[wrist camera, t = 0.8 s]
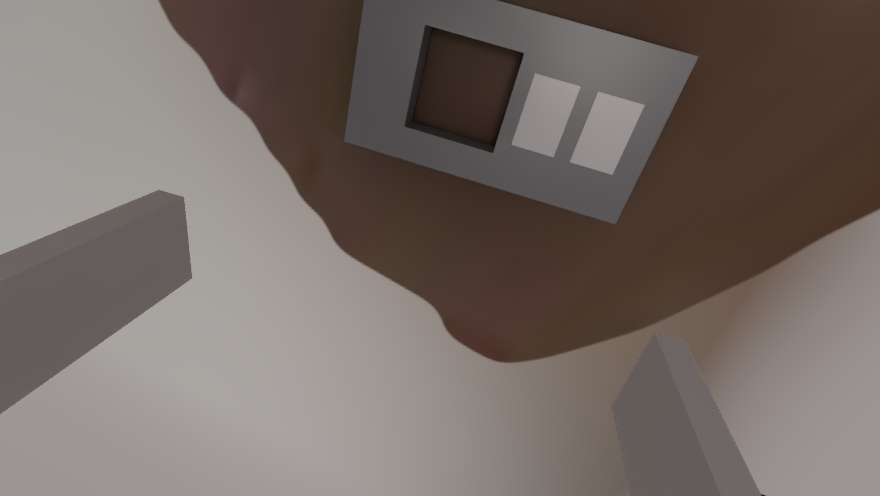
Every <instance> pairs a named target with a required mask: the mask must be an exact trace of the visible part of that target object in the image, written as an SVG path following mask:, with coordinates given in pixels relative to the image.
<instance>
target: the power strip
mask: <svg viewBox="0 0 880 496" xmlns="http://www.w3.org/2000/svg"><path fill="white" fill-rule="evenodd" d="M432 27H435V28H438V29H442V30H445V31H449V32H452V33H456V34H459V35H463V36H466V37H470V38H473V39H477V40H480V41H484V42H487V43H491V44H494V45H498V46H501V47H505V48H508V49H512V50H515V51H519V52H522V53H524V56H523V59H522V62H521V65H520V69H519V72H518V75H517V78H516V81H515V85H514V88H513V91H512V94H511V97H510V100H509V104H508V107H507V110H506V113H505V116H504V120H503V123H502V126H501V129H500V132H499V135H498V139H497V142H496V145H495V146H493V145H490V144H486V143H483V142H480V141H476V140H473V139H470V138H466V137H463V136H460V135H456V134H453V133H450V132H446V131H443V130H440V129H436V128H433V127H430V126H426V125H423V124H420V123H416V122H413V116H414V111H415V107H416V102H417V97H418V93H419V88H420V83H421V79H422V74H423V69H424V65H425V60H426V55H427V50H428V46H429V41H430V36H431V32H432ZM697 59H698V56H695V55H691V54H688V53H684V52H681V51H677V50H673V49H670V48H666V47H663V46H659V45H655V44H652V43H648V42H645V41H641V40H638V39H634V38H630V37H627V36H623V35H620V34H616V33H612V32H609V31H605V30H602V29H598V28H595V27H591V26H587V25H584V24H580V23H577V22H573V21H569V20H566V19H562V18H559V17H555V16H552V15H548V14H544V13H541V12H537V11H534V10H530V9H526V8H523V7H519V6H516V5H512V4H509V3H505V2H501V1H498V0H364V3H363V10H362V17H361V24H360V31H359V38H358V45H357V52H356V59H355V66H354V74H353V81H352V88H351V95H350V102H349V109H348V116H347V123H346V130H345V138H344V142H347V143H350V144H354V145H357V146H360V147H363V148H367V149H370V150H373V151H377V152H380V153H383V154H386V155H390V156H393V157H396V158H399V159H403V160H406V161H409V162H413V163H416V164H419V165H422V166H426V167H429V168H432V169H436V170H439V171H442V172H445V173H449V174H452V175H455V176H458V177H462V178H465V179H468V180H472V181H475V182H478V183H481V184H485V185H488V186H491V187H494V188H498V189H501V190H504V191H508V192H511V193H514V194H517V195H521V196H524V197H527V198H530V199H534V200H537V201H540V202H544V203H547V204H550V205H553V206H557V207H560V208H563V209H566V210H570V211H573V212H576V213H580V214H583V215H586V216H589V217H593V218H596V219H599V220H603V221H606V222H609V223H612V224H616V222H617V220H618V218H619V216H620V214H621V212H622V210H623V208H624V206H625V204H626V202H627V200H628V198H629V196H630V194H631V192H632V190H633V188H634V186H635V184H636V182H637V180H638V178H639V176H640V174H641V172H642V170H643V168H644V166H645V164H646V162H647V160H648V158H649V156H650V154H651V152H652V150H653V147H654V145H655V143H656V141H657V139H658V137H659V135H660V133H661V131H662V129H663V127H664V125H665V123H666V121H667V119H668V117H669V115H670V113H671V111H672V109H673V107H674V105H675V103H676V101H677V99H678V97H679V95H680V93H681V91H682V89H683V87H684V85H685V83H686V81H687V79H688V77H689V75H690V73H691V71H692V69H693V67H694V65H695V63H696V61H697Z"/></svg>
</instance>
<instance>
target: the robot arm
mask: <svg viewBox="0 0 880 496" xmlns="http://www.w3.org/2000/svg"><path fill="white" fill-rule="evenodd" d="M190 279H192V273H191V263H190V254H189V244H188V233H187V224H186V215H185V204H184V197H181V196H178V195H174V194H171V193H167V192H164V191H160V190H158V191H156V192H153V193H150V194H148V195H146V196H143V197H141V198H138V199H136V200H133V201H131V202H129V203H126V204H124V205H121V206H119V207H116V208H114V209H112V210H109V211H107V212H105V213H102V214H99V215H97V216H95V217H92V218H90V219H87V220H85V221H82V222H80V223H77V224H75V225H73V226H70V227H68V228H65V229H63V230H61V231H58V232H56V233H53V234H51V235H48V236H46V237H44V238H41V239H39V240H36V241H34V242H31V243H29V244H27V245H24V246H22V247H19V248H17V249H14V250H12V251H9V252H7V253H5V254H2V255H0V414H1V413H2V412H4V411H5V410H7V409H8V408H9V407H10V406H12V405H14V404H15V403H16V402H18V401H19V400H21V399H22V398H24V397H25V396H26V395H28V394H29V393H31V392H32V391H33V390H35V389H36V388H38V387H39V386H40V385H42V384H43V383H45V382H46V381H48V380H49V379H50V378H52V377H53V376H55V375H56V374H57V373H59V372H60V371H62V370H63V369H64V368H66V367H67V366H69V365H70V364H72V363H73V362H74V361H76V360H77V359H79V358H80V357H81V356H83V355H84V354H85V353H87V352H88V351H90V350H91V349H93V348H94V347H95V346H97V345H98V344H100V343H101V342H103V341H104V340H105V339H107V338H108V337H109V336H111V335H113V334H114V333H115V332H117V331H118V330H120V329H121V328H122V327H124V326H125V325H127V324H128V323H129V322H131V321H132V320H134V319H135V318H137V317H138V316H139V315H141V314H142V313H144V312H145V311H146V310H148V309H149V308H151V307H152V306H153V305H155V304H156V303H158V302H159V301H160V300H162V299H163V298H165V297H166V296H168V295H169V294H170V293H172V292H173V291H175V290H176V289H177V288H179V287H180V286H182V285H183V284H185V283H186V282H187V281H189V280H190ZM611 406H612V411H613V415H614V420H615V425H616V430H617V434H618V439H619V444H620V449H621V454H622V458H623V463H624V468H625V472H626V477H627V483H628V487H629V492H630V496H765V495H762V494H760V492H759V490H758V488H757V486H756V484H755V482H754V480H753V478H752V476H751V474H750V472H749V469H748V467H747V466H746V463H745V461H744V459H743V457H742V455H741V453H740V451H739V449H738V447H737V445H736V443H735V441H734V439H733V437H732V435H731V433H730V431H729V429H728V427H727V425H726V423H725V421H724V419H723V417H722V415H721V413H720V411H719V409H718V407H717V405H716V403H715V401H714V399H713V397H712V395H711V393H710V391H709V389H708V387H707V385H706V382H705V381H704V379H703V377H702V374H701V372H700V370H699V368H698V366H697V364H696V362H695V360H694V358H693V356H692V354H691V352H690V350H689V348H688V346H687V344H686V342H685V341H684V340H680V339H677V338H673V337H670V336H667V335H663V334H660V333H656V332H655V333H654V334H653V336H652V337H651V339H650V341H649V342H648V344H647V346H646V347H645V349H644V351H643V353H642V354H641V356H640V358H639V359H638V361H637V363H636V364H635V366H634V368H633V369H632V371H631V373H630V375H629V376H628V378H627V380H626V381H625V383H624V385H623V386H622V388H621V390H620V391H619V393H618V395H617V397H616V398H615V400H614V402H613V403H612V405H611Z"/></svg>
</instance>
